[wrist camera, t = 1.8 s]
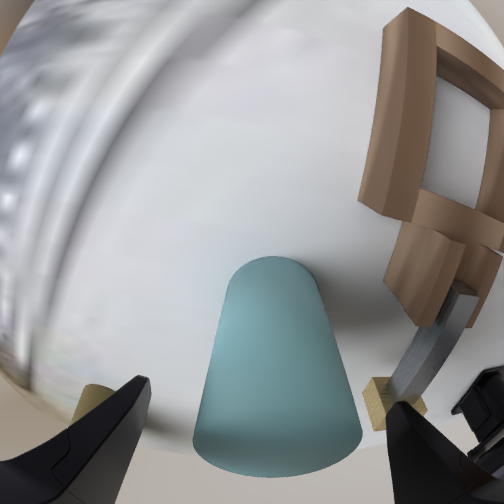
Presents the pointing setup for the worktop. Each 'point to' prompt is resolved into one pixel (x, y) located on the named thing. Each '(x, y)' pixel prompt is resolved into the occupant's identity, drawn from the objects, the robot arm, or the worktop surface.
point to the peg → (275, 379)
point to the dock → (413, 164)
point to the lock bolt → (421, 357)
